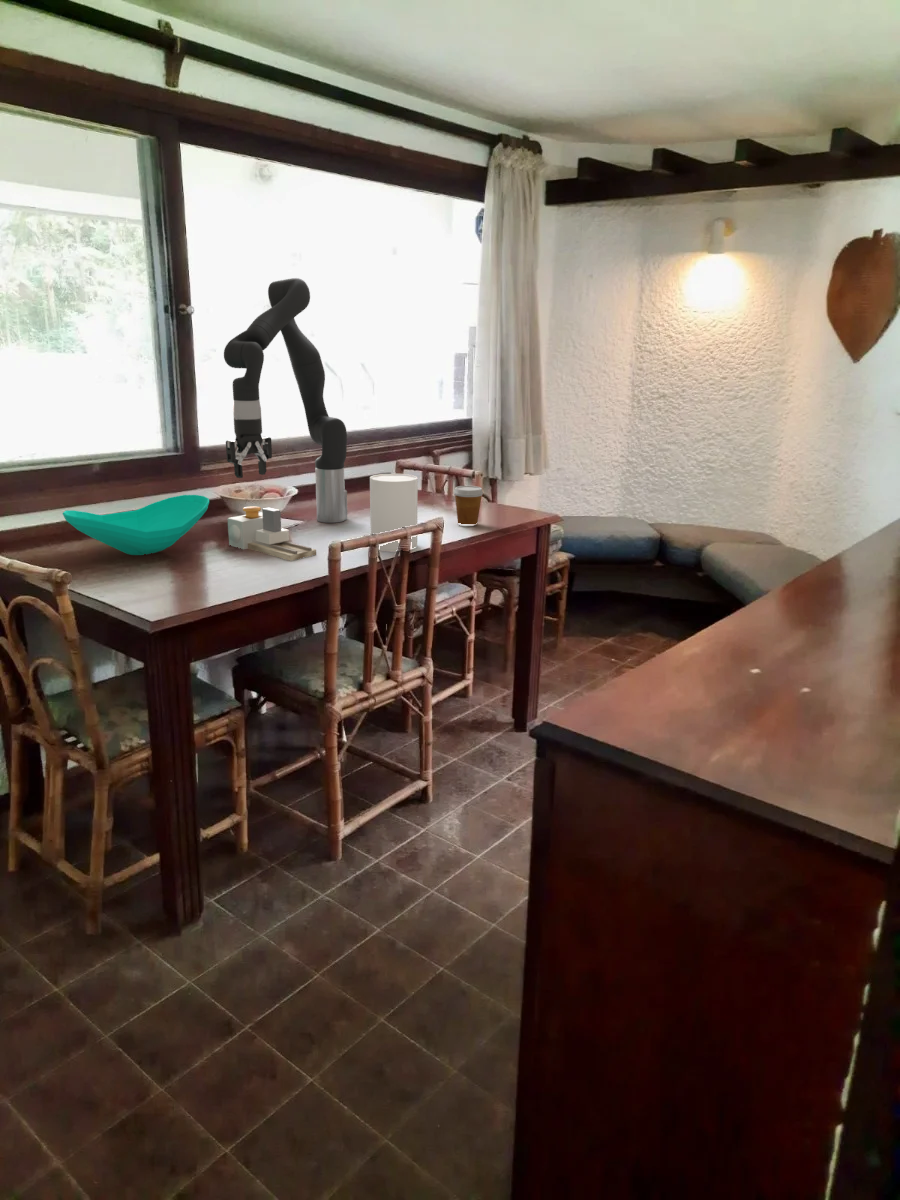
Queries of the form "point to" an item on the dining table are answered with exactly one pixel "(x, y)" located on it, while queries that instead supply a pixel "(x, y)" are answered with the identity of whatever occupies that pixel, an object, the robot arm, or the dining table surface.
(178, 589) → the dining table surface
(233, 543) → the end cabinet
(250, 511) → the button
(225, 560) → the dining table surface
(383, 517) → the canister
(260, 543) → the rail track
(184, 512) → the table top decor
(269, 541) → the carriage
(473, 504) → the disposable coffee cup
